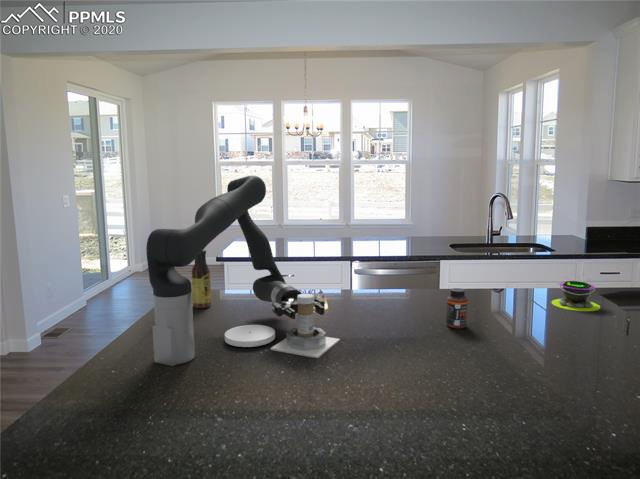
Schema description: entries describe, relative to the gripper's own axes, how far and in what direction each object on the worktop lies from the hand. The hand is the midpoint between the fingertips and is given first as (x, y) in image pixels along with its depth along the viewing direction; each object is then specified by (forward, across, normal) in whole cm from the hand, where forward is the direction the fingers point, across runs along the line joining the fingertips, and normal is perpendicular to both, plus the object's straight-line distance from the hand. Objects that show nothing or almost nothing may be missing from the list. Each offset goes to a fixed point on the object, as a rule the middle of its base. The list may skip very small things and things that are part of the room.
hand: (308, 313), depth 132 cm
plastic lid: (-12, -13, +10) cm, 20 cm away
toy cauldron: (+3, +99, +10) cm, 99 cm away
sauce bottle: (-52, -18, +10) cm, 56 cm away
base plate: (-2, 0, +10) cm, 10 cm away
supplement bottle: (+3, +47, +10) cm, 48 cm away
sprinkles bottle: (-2, 0, +9) cm, 9 cm away
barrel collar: (-2, 0, +10) cm, 10 cm away
